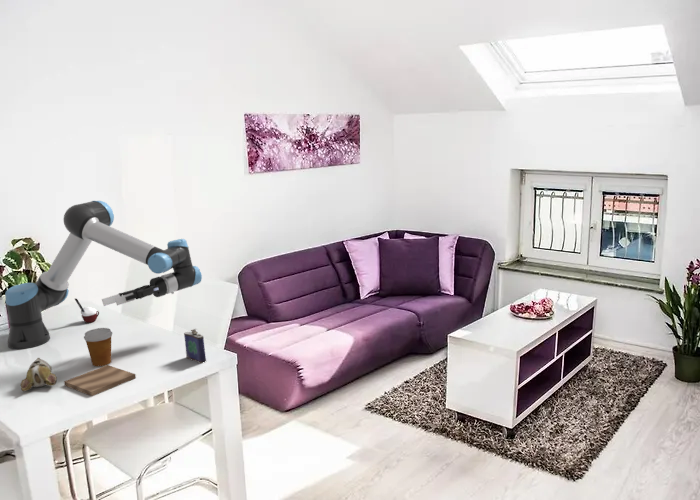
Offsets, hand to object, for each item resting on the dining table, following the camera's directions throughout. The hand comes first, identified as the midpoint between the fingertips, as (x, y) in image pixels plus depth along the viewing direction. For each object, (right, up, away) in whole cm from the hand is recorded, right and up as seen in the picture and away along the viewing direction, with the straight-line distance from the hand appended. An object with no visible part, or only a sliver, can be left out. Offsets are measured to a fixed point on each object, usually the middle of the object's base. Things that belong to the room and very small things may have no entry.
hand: (109, 302), depth 218 cm
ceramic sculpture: (-16, -26, -18) cm, 36 cm away
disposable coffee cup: (-2, -22, -1) cm, 22 cm away
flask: (+32, -21, -1) cm, 38 cm away
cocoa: (-29, -13, +49) cm, 58 cm away
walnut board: (+4, -25, -18) cm, 31 cm away
